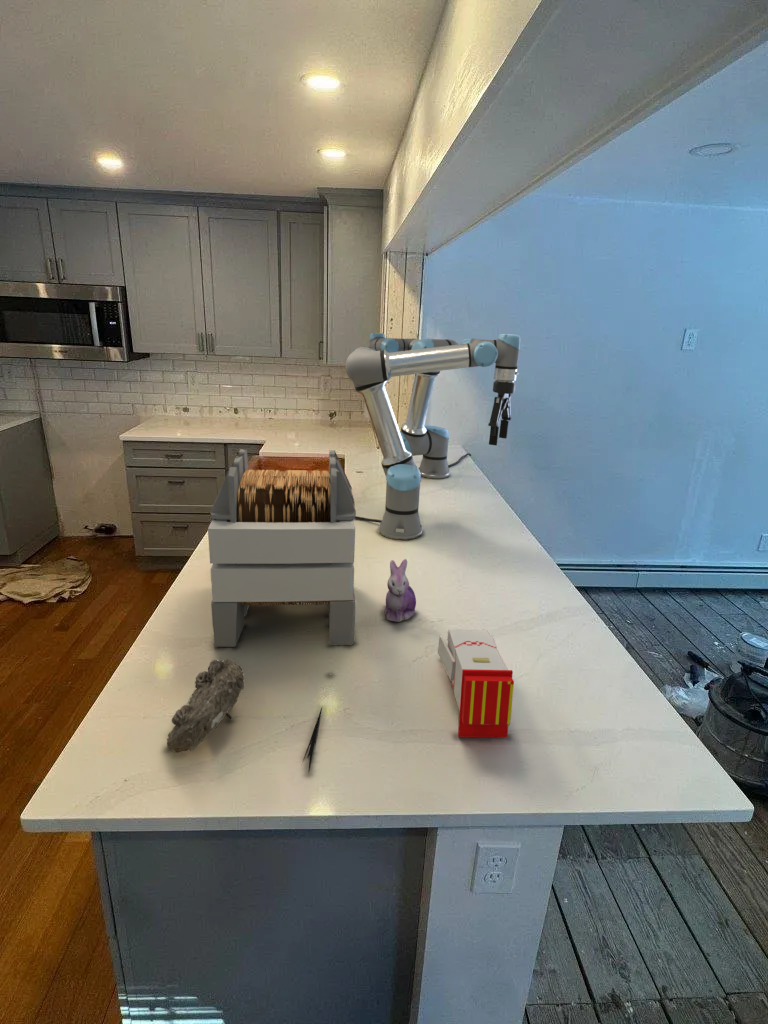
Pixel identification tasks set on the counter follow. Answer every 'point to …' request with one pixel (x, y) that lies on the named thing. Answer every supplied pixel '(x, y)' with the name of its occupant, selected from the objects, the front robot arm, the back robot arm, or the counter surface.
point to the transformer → (282, 546)
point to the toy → (478, 682)
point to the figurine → (399, 594)
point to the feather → (313, 740)
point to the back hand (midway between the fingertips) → (375, 411)
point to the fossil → (206, 705)
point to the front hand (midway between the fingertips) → (497, 441)
